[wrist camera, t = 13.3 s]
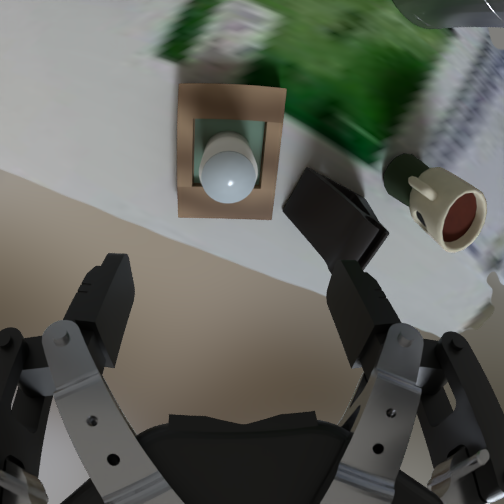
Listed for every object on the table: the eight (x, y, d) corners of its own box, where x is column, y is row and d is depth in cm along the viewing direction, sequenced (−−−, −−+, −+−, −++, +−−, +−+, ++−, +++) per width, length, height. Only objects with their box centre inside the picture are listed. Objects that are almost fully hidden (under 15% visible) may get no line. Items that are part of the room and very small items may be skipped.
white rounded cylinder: (205, 129, 26) (197, 147, 19) (252, 131, 27) (262, 149, 20) (204, 173, 29) (197, 206, 22) (248, 174, 29) (257, 207, 22)
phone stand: (364, 198, 34) (413, 249, 24) (340, 236, 37) (377, 295, 27) (306, 166, 32) (344, 210, 22) (281, 209, 34) (305, 269, 24)
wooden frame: (183, 83, 25) (178, 83, 23) (280, 88, 27) (286, 88, 24) (182, 205, 33) (178, 217, 30) (267, 207, 34) (271, 220, 31)
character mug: (357, 179, 33) (414, 231, 22) (385, 130, 30) (455, 163, 19) (413, 213, 36) (468, 267, 25) (438, 172, 33) (501, 215, 22)
